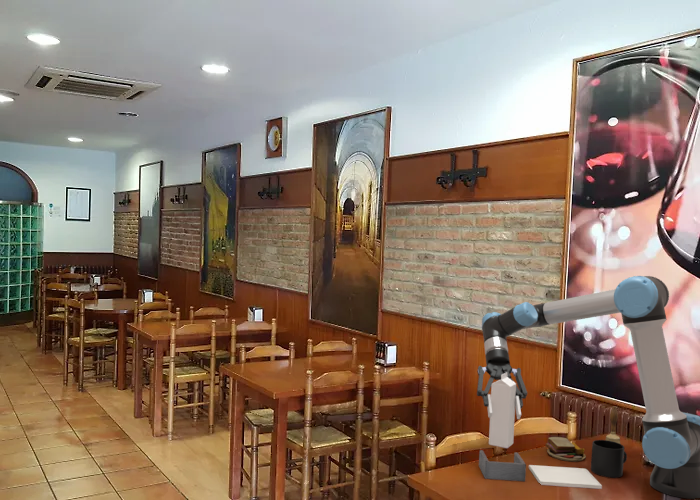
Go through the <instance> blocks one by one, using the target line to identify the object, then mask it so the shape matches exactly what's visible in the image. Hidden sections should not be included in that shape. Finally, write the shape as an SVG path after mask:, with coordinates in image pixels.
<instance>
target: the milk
mask: <svg viewBox="0 0 700 500" xmlns="http://www.w3.org/2000/svg"><path fill="white" fill-rule="evenodd" d="M512 380H513V379H512ZM512 380H511V379H509V378H508V377H507V372H506V373H504V374H502V375H501V380H495V381H493V383H492V385H491V387H490V390H491V391H490V396H491V405H492V416H491V418H489V431H488V434H489V435H488V445H489V446H494V447H499V448H503V449H509V448H510V447H511V446H512V445H513V444H514V437H515V435H514V434H515V415H516V407H515V398H516V386H517V382H515V381H514V380H513V381H514V382H513V381H512Z"/></svg>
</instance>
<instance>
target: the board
mask: <svg viewBox="0 0 700 500" xmlns="http://www.w3.org/2000/svg"><path fill="white" fill-rule="evenodd" d="M528 469H529V471H530V472H531V474H532V475H533V477H534V478H535V479H536V481H537V482H538V483H540V484H541V485H540V484H539V485H540V486H554V487H555V486H556V487H565V488H567V487H569V488H581V489H583V488H584V489H599V490H602V489H603V485H602V484H601V483H600V482H599V481H598V479H597V478H596V477H594V476H593V474H592V473H591V472H590V471H589V470H588V469H587V468H583V467H582V468H579V467H566V466H551V465H550V466H548V465H535V464H534V465H533V464H529V465H528Z"/></svg>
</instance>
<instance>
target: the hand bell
mask: <svg viewBox="0 0 700 500" xmlns="http://www.w3.org/2000/svg"><path fill="white" fill-rule="evenodd" d="M609 419H610V433H609V434H607V435H606V436H605V440H608V441H613V442H616V443H619V444H621V438H620V436H619V435H617V422H618V419H619V413H618V409H617V406H614V405H613V406H612V407H611V410H610V413H609Z"/></svg>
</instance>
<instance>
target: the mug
mask: <svg viewBox="0 0 700 500" xmlns="http://www.w3.org/2000/svg"><path fill="white" fill-rule="evenodd" d="M590 458H591V459H590V460H591V461H590V470H591V472H592V473H594V474H596V475H599V476H601V477H605V478H612V479H616V478H622V477H623V475H624V474H623V473H624V464H625V463H626V462H627V459H628V454H627V452H626V451H625V446H624V445H623V444H621V443H620V444H619V443H616V442H613V441H608V440H606V439H596V440H593V441H592V443H591V457H590Z"/></svg>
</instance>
